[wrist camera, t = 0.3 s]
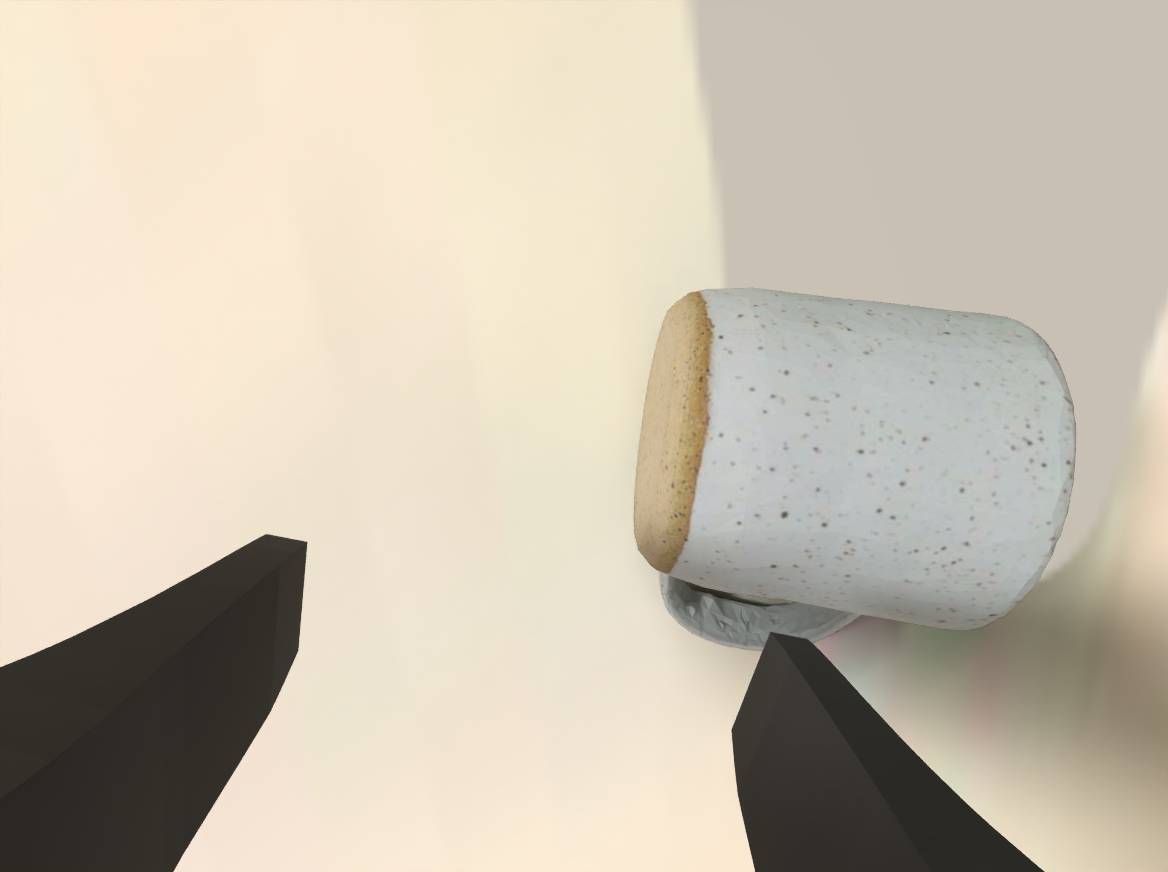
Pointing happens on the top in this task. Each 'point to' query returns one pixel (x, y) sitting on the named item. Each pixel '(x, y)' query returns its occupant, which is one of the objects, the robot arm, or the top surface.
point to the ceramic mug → (848, 463)
